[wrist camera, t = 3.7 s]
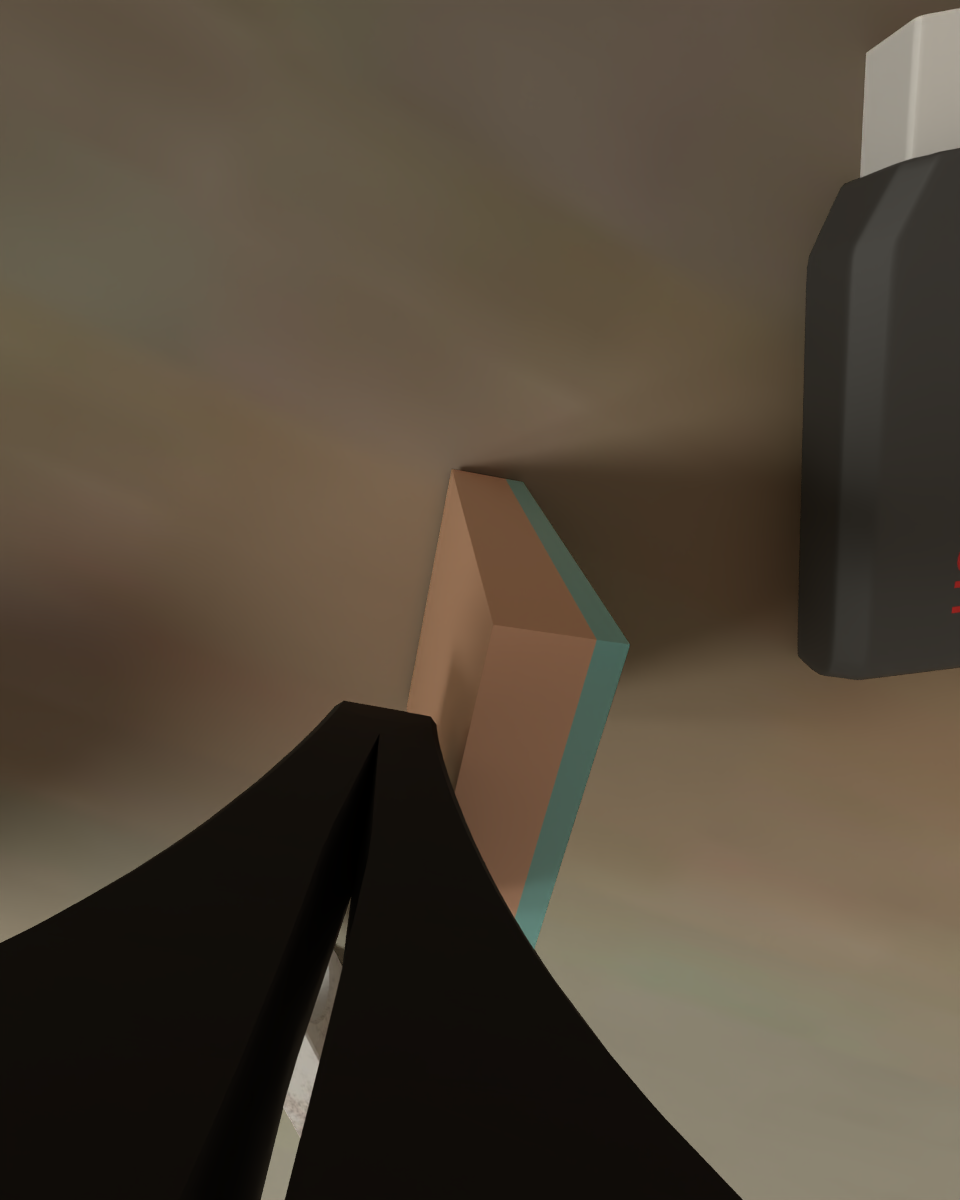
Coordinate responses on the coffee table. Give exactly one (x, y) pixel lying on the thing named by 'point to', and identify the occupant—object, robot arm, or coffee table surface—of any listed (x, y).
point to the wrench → (312, 1048)
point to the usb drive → (887, 379)
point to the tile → (514, 681)
